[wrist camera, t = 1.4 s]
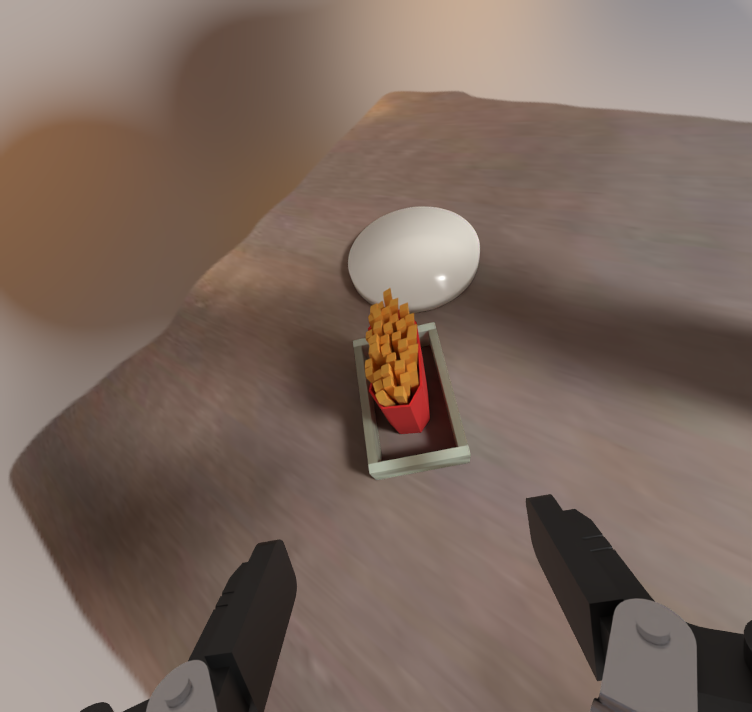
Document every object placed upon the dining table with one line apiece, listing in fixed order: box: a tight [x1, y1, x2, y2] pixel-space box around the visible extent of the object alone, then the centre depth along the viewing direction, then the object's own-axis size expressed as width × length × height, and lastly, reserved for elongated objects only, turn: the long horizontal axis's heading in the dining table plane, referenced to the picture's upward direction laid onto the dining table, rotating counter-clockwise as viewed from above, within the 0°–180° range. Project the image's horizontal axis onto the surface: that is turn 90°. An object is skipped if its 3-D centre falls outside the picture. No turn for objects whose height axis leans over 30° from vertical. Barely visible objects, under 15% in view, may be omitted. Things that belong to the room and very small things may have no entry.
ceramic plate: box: [348, 207, 480, 313], centre depth 44 cm, size 16×16×2 cm
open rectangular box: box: [353, 322, 471, 480], centre depth 35 cm, size 9×14×3 cm, turn 8°
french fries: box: [365, 288, 430, 434], centre depth 31 cm, size 9×4×13 cm, turn 1°
